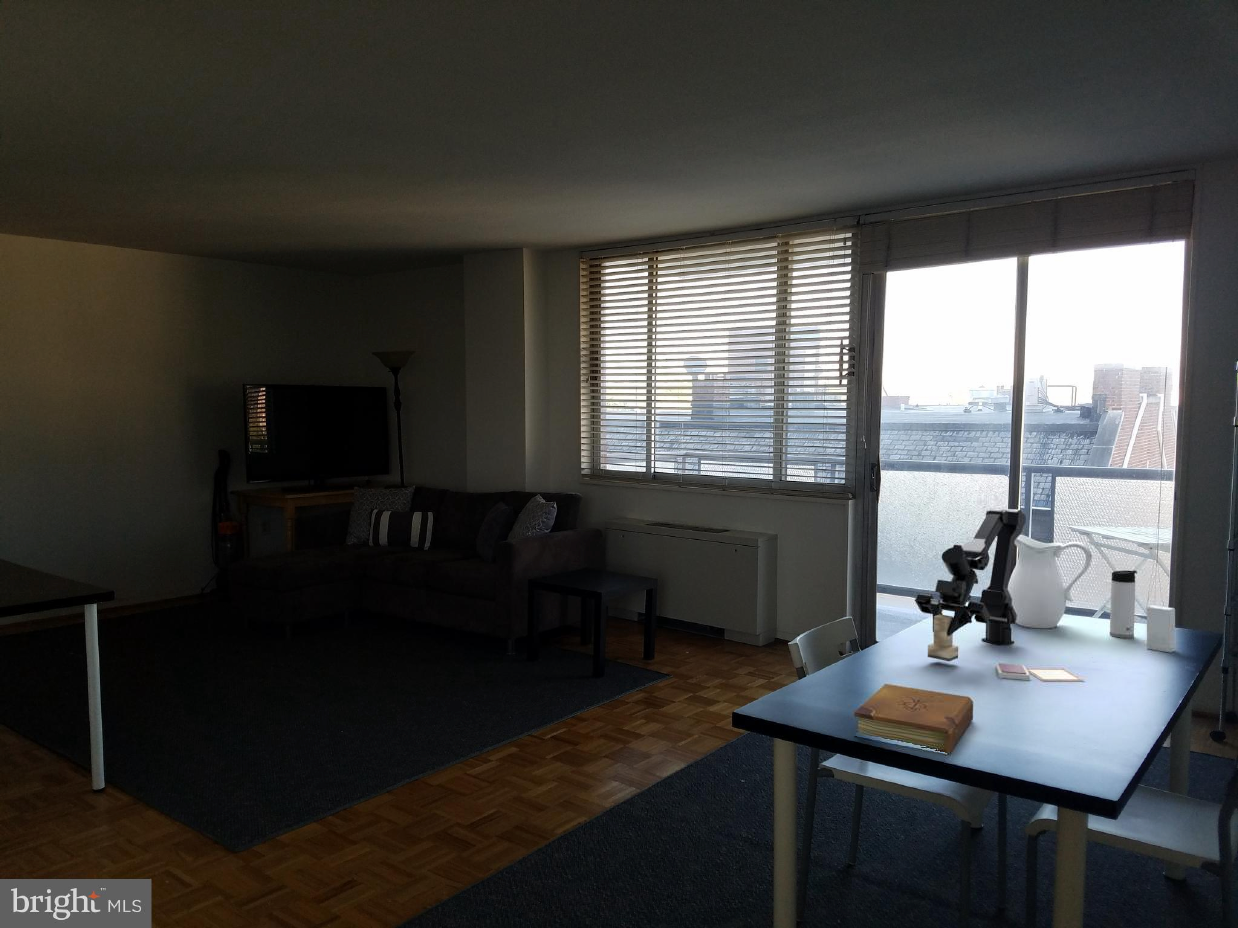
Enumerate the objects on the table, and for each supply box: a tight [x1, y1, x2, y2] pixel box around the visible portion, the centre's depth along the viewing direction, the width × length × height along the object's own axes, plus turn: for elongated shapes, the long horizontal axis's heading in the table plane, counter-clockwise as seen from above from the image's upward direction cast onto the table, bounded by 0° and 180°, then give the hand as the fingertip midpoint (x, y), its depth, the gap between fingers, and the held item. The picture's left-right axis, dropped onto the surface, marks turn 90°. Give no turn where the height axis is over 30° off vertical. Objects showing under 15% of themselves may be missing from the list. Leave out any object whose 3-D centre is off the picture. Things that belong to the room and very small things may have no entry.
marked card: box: [1026, 667, 1086, 682], centre depth 221 cm, size 10×10×1 cm
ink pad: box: [994, 663, 1031, 681], centre depth 222 cm, size 9×7×2 cm
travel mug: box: [1109, 569, 1138, 639], centre depth 261 cm, size 6×7×20 cm
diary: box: [853, 683, 974, 755], centre depth 182 cm, size 23×19×6 cm
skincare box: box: [1146, 605, 1176, 653], centre depth 245 cm, size 6×4×12 cm
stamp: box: [927, 614, 959, 662], centre depth 231 cm, size 6×5×11 cm
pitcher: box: [1008, 534, 1093, 629], centre depth 273 cm, size 24×17×28 cm
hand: (940, 633), depth 230 cm, fingers closed on stamp, 3 cm apart
